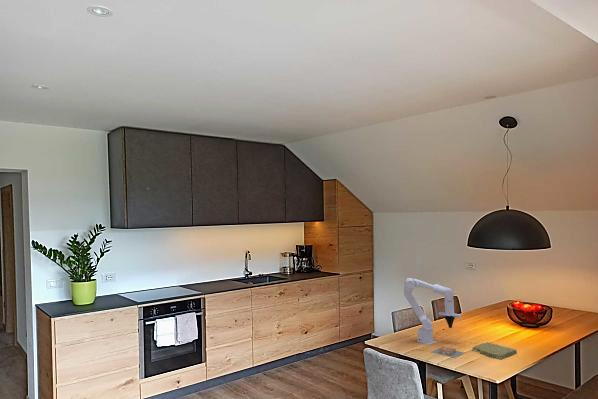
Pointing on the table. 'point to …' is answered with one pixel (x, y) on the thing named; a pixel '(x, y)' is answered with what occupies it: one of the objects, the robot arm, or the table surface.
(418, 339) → the robot arm
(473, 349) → the decorative tile
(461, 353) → the mat
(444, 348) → the slab
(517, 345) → the table surface
